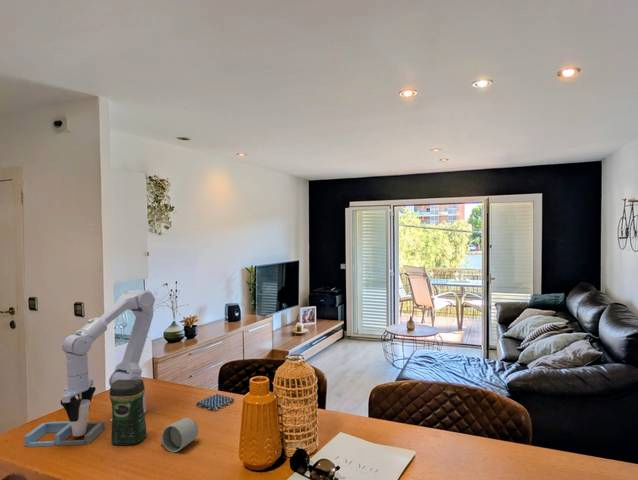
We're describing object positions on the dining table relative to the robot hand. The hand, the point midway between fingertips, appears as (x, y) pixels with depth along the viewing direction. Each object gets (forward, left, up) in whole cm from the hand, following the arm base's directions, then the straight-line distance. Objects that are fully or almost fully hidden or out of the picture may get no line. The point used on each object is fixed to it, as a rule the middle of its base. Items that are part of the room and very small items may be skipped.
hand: (79, 416), depth 133 cm
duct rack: (+5, 0, -7) cm, 8 cm away
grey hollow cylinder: (-33, +8, -7) cm, 34 cm away
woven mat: (-37, -22, -7) cm, 44 cm away
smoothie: (0, 0, -6) cm, 6 cm away
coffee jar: (-16, +3, -7) cm, 18 cm away
